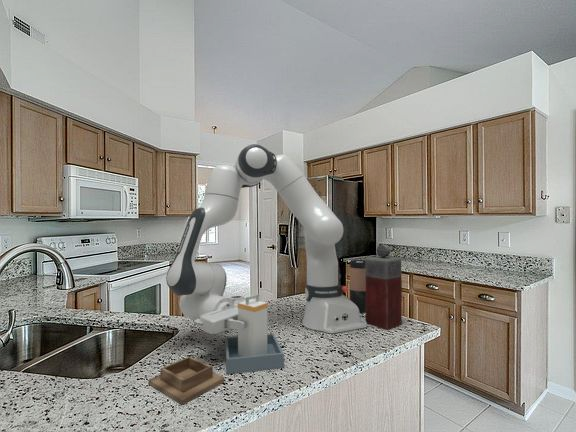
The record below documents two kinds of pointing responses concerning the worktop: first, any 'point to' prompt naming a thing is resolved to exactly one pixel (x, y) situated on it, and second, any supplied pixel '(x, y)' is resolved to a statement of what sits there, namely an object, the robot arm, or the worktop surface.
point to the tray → (253, 357)
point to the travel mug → (358, 284)
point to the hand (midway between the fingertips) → (255, 321)
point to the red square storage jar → (383, 290)
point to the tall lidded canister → (252, 327)
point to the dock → (186, 380)
